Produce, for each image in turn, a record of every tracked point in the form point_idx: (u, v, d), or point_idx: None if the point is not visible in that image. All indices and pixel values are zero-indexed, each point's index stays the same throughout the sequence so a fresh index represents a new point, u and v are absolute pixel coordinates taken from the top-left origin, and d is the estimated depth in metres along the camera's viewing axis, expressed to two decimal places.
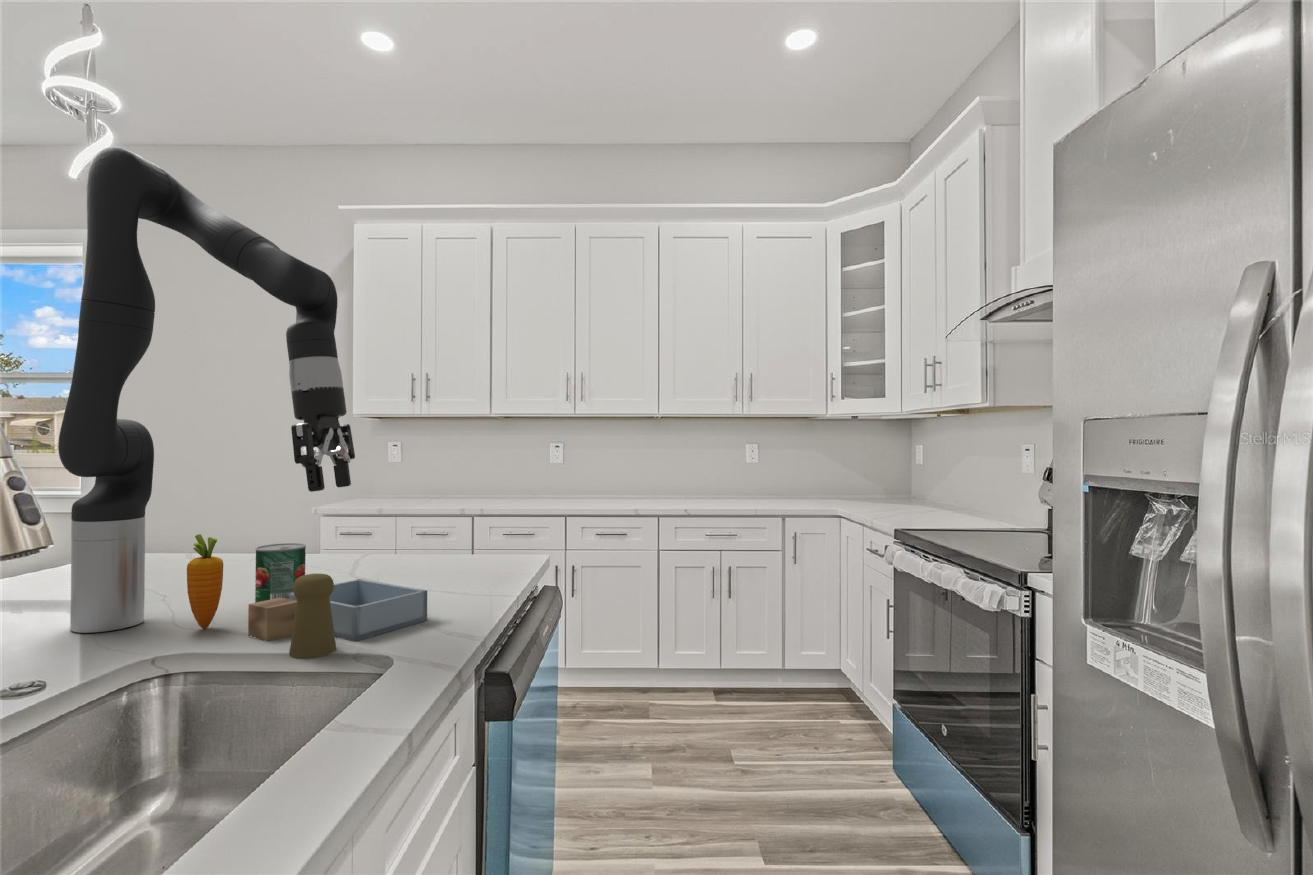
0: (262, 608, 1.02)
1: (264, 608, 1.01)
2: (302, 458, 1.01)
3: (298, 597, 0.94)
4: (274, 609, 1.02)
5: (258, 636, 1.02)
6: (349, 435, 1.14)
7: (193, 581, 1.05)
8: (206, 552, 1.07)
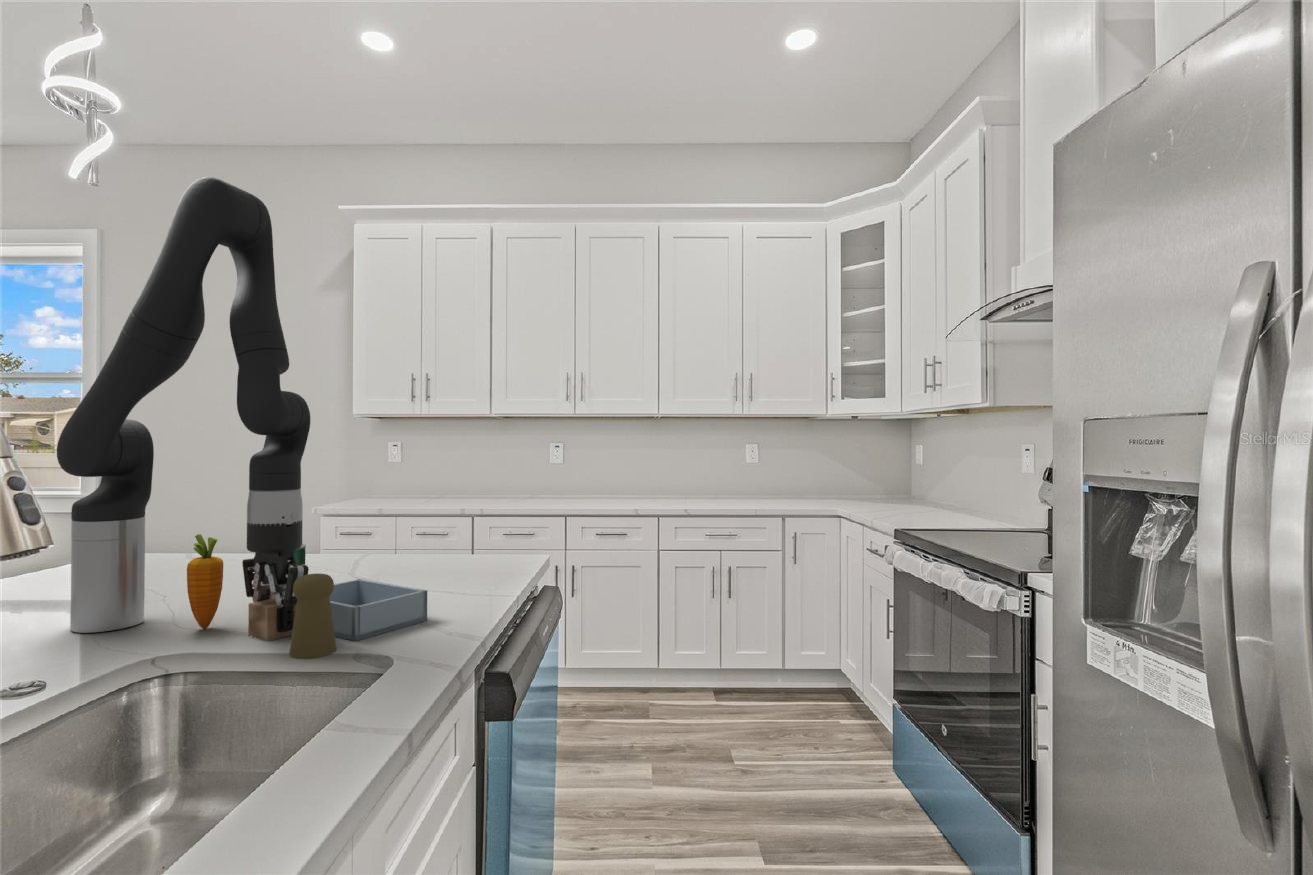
0: (262, 607, 1.02)
1: (264, 607, 1.01)
2: (295, 599, 1.02)
3: (298, 597, 0.94)
4: (274, 609, 1.02)
5: (258, 635, 1.02)
6: None
7: (193, 581, 1.05)
8: (206, 552, 1.07)
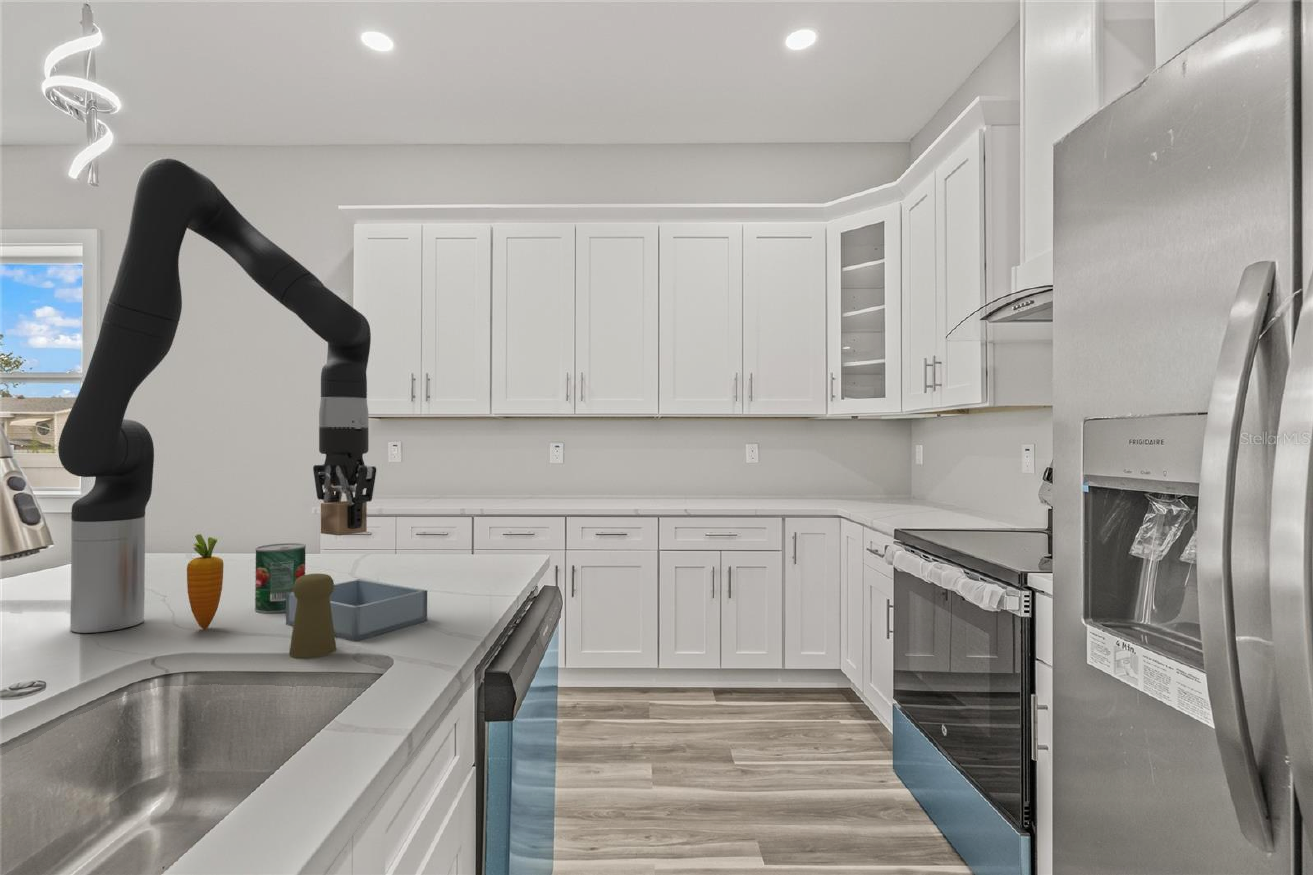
0: (334, 505, 1.10)
1: (336, 505, 1.10)
2: (365, 497, 1.10)
3: (298, 597, 0.94)
4: (345, 507, 1.10)
5: (330, 531, 1.10)
6: None
7: (193, 581, 1.05)
8: (206, 552, 1.07)
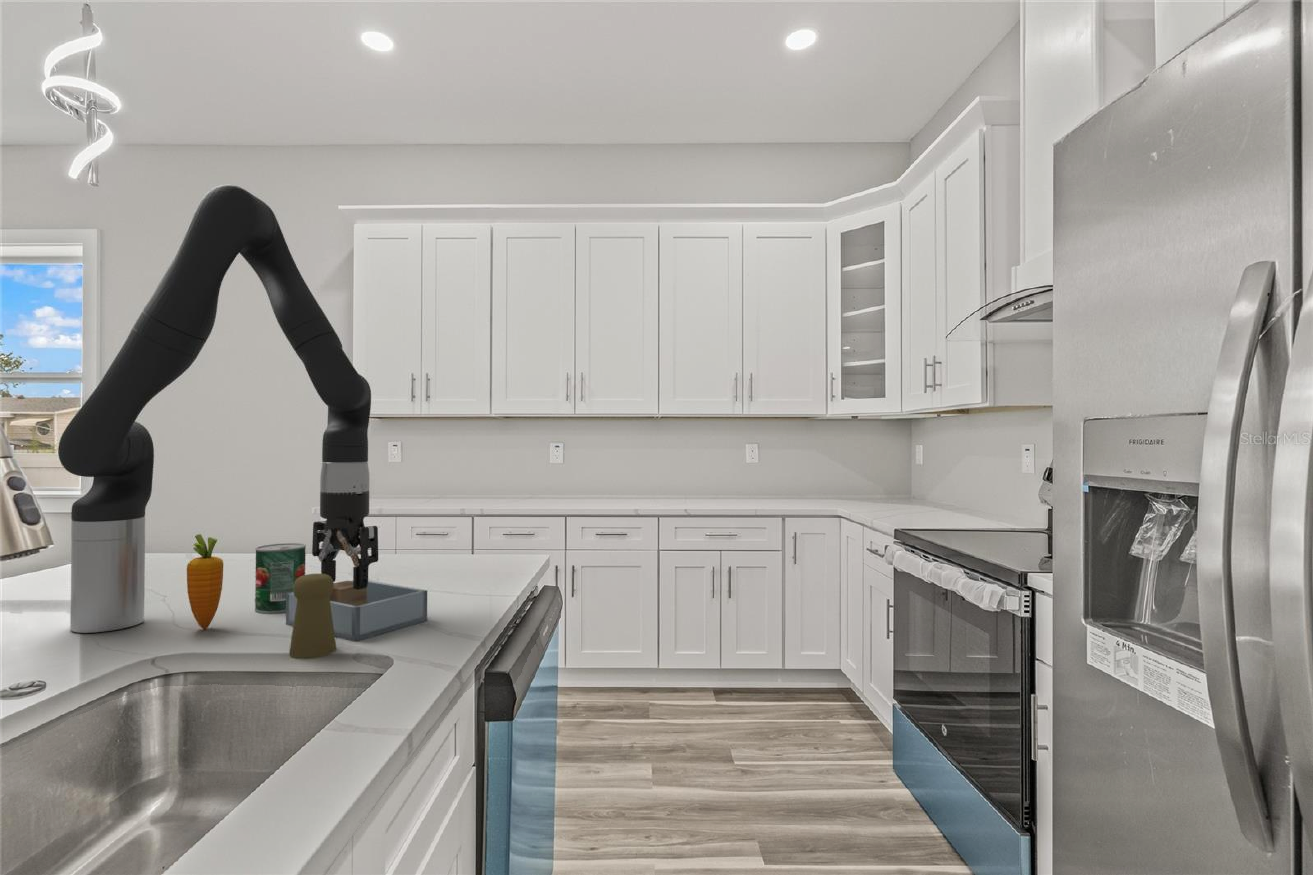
0: (335, 589, 1.10)
1: (337, 589, 1.10)
2: (371, 559, 1.10)
3: (298, 597, 0.94)
4: (346, 591, 1.11)
5: None
6: None
7: (193, 581, 1.05)
8: (206, 552, 1.07)
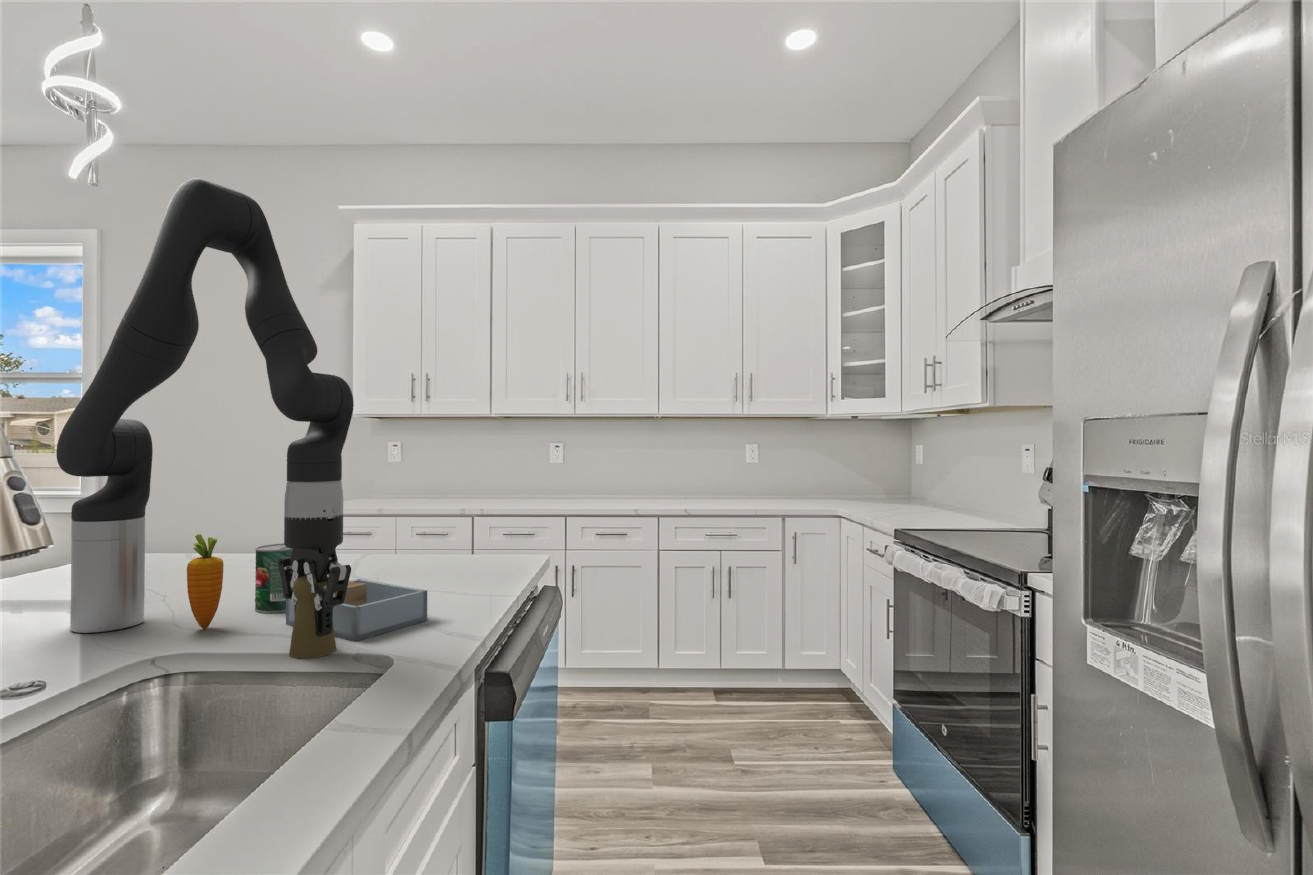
0: None
1: None
2: (336, 601, 0.94)
3: (298, 597, 0.94)
4: (346, 591, 1.11)
5: None
6: None
7: (193, 581, 1.05)
8: (206, 552, 1.07)
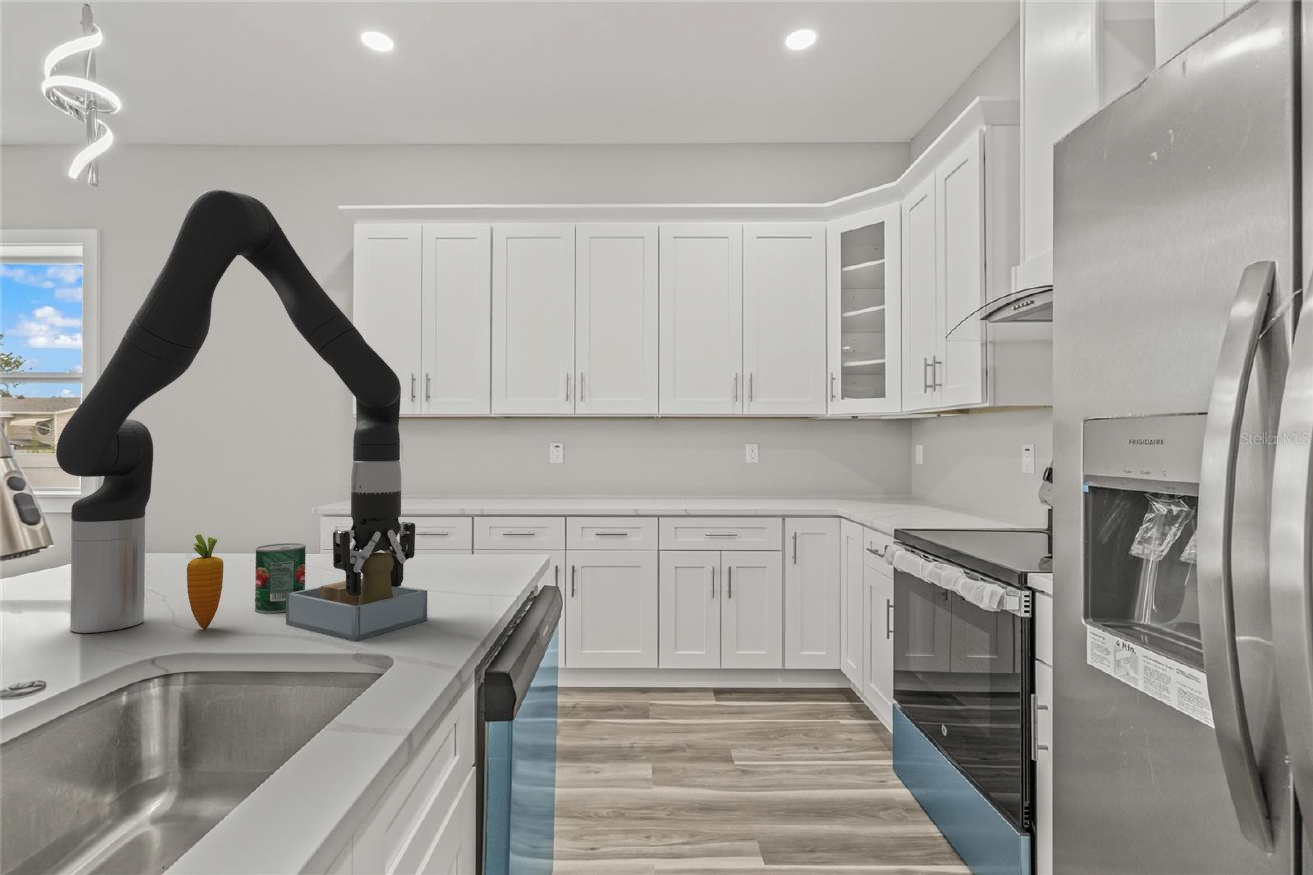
0: (335, 589, 1.10)
1: (337, 589, 1.10)
2: None
3: (386, 571, 1.08)
4: (346, 591, 1.11)
5: None
6: None
7: (193, 581, 1.05)
8: (206, 552, 1.07)
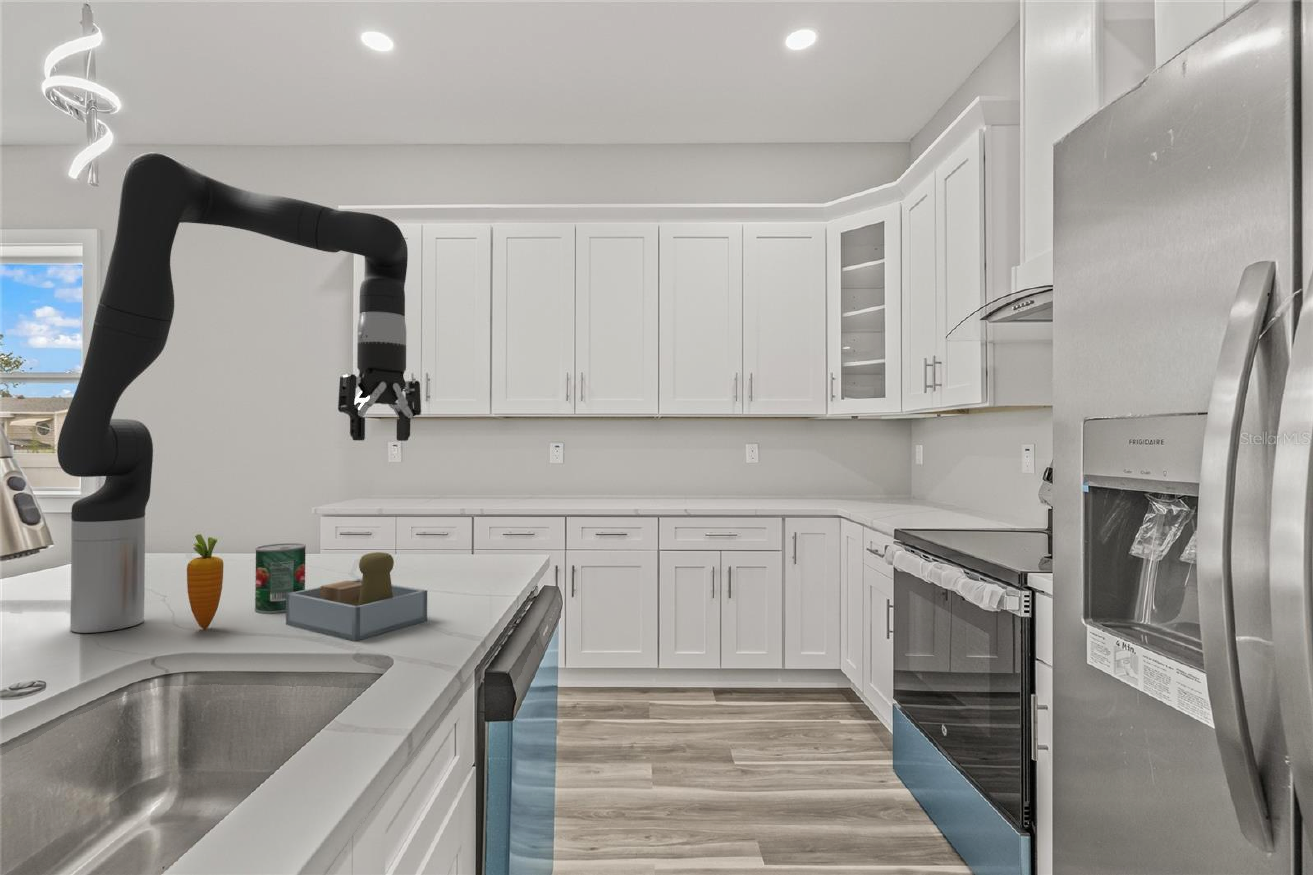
0: (335, 589, 1.10)
1: (337, 589, 1.10)
2: None
3: (386, 571, 1.08)
4: (346, 591, 1.11)
5: None
6: None
7: (193, 581, 1.05)
8: (206, 552, 1.07)
